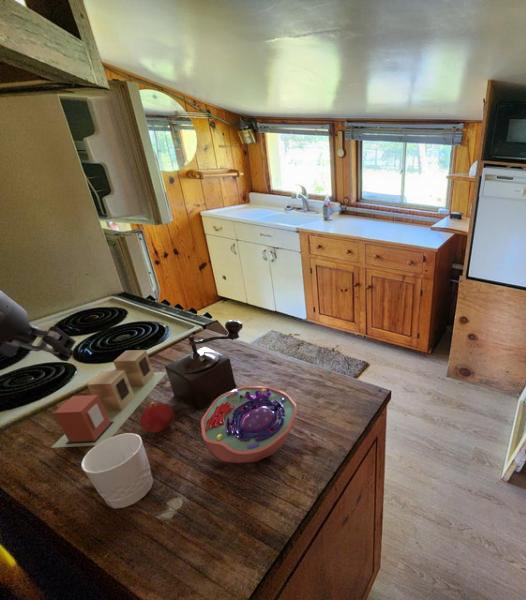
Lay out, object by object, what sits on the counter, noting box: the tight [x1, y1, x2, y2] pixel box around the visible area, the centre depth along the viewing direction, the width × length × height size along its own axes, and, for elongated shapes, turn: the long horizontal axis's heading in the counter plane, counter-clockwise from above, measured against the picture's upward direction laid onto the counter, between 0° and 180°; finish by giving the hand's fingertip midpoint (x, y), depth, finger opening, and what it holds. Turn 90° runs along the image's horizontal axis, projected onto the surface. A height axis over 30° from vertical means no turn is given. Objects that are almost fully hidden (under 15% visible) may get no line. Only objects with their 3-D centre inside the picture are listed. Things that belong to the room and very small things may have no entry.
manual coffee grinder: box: [164, 319, 243, 411], centre depth 81 cm, size 16×11×18 cm
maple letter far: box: [112, 349, 155, 387], centre depth 83 cm, size 5×5×8 cm
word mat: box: [50, 371, 167, 449], centre depth 77 cm, size 10×24×1 cm, turn 6°
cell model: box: [200, 385, 298, 464], centre depth 67 cm, size 17×20×11 cm
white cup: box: [80, 432, 155, 509], centre depth 57 cm, size 8×8×10 cm
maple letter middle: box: [86, 370, 135, 412], centre depth 75 cm, size 5×5×8 cm
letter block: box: [53, 395, 110, 442], centre depth 68 cm, size 5×5×8 cm
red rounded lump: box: [139, 401, 175, 433], centre depth 69 cm, size 6×6×8 cm
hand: (41, 354), depth 62 cm, fingers open, 8 cm apart
